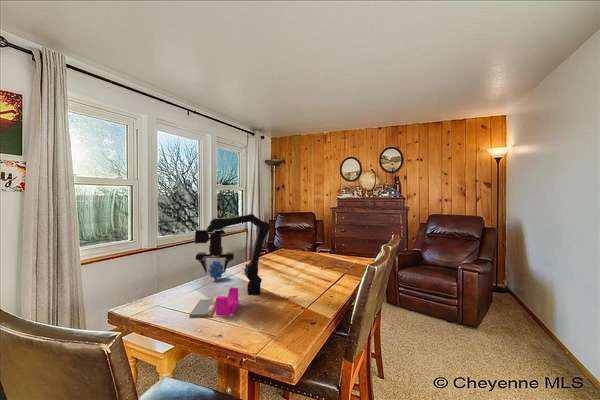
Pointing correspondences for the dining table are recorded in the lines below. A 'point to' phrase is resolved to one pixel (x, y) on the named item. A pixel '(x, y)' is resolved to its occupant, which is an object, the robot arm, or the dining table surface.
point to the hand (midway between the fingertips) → (215, 272)
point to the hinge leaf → (204, 308)
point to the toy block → (227, 303)
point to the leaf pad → (217, 315)
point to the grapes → (216, 270)
